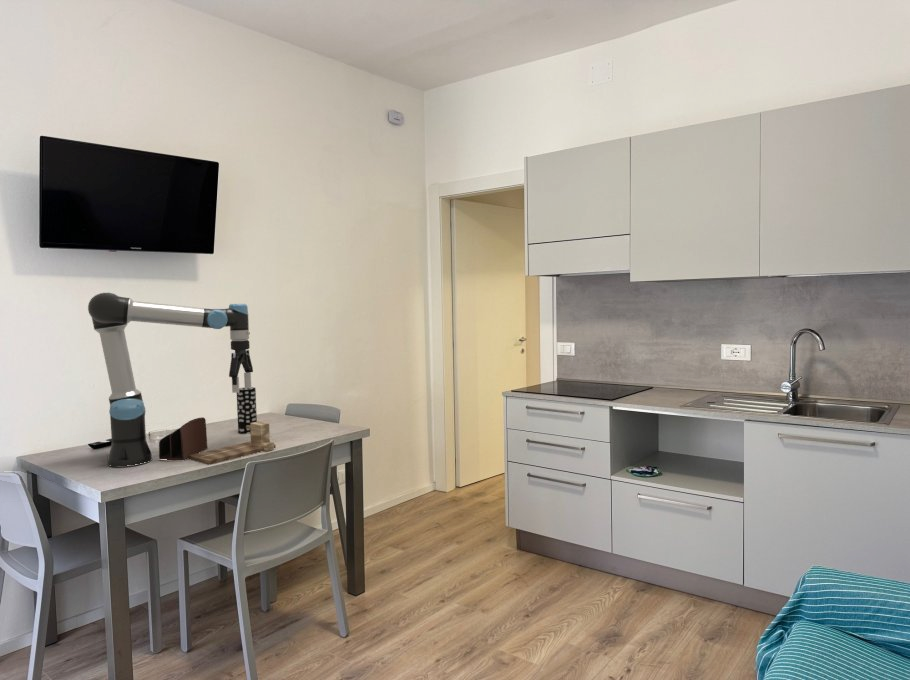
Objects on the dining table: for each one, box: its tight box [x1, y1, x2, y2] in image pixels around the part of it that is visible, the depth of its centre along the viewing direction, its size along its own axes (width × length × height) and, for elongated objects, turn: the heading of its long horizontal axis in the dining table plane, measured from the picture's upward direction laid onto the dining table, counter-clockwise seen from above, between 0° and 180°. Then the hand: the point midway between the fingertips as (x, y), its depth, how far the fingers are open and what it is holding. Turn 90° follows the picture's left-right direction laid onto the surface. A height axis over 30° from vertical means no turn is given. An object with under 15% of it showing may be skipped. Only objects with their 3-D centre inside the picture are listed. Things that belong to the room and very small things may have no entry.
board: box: [188, 440, 277, 465], centre depth 256 cm, size 30×14×2 cm, turn 143°
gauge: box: [246, 420, 275, 452], centre depth 264 cm, size 4×15×10 cm, turn 53°
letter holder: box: [158, 416, 209, 461], centre depth 256 cm, size 10×20×14 cm, turn 175°
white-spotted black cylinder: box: [236, 386, 258, 435], centre depth 296 cm, size 8×8×20 cm
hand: (242, 390), depth 275 cm, fingers open, 13 cm apart
